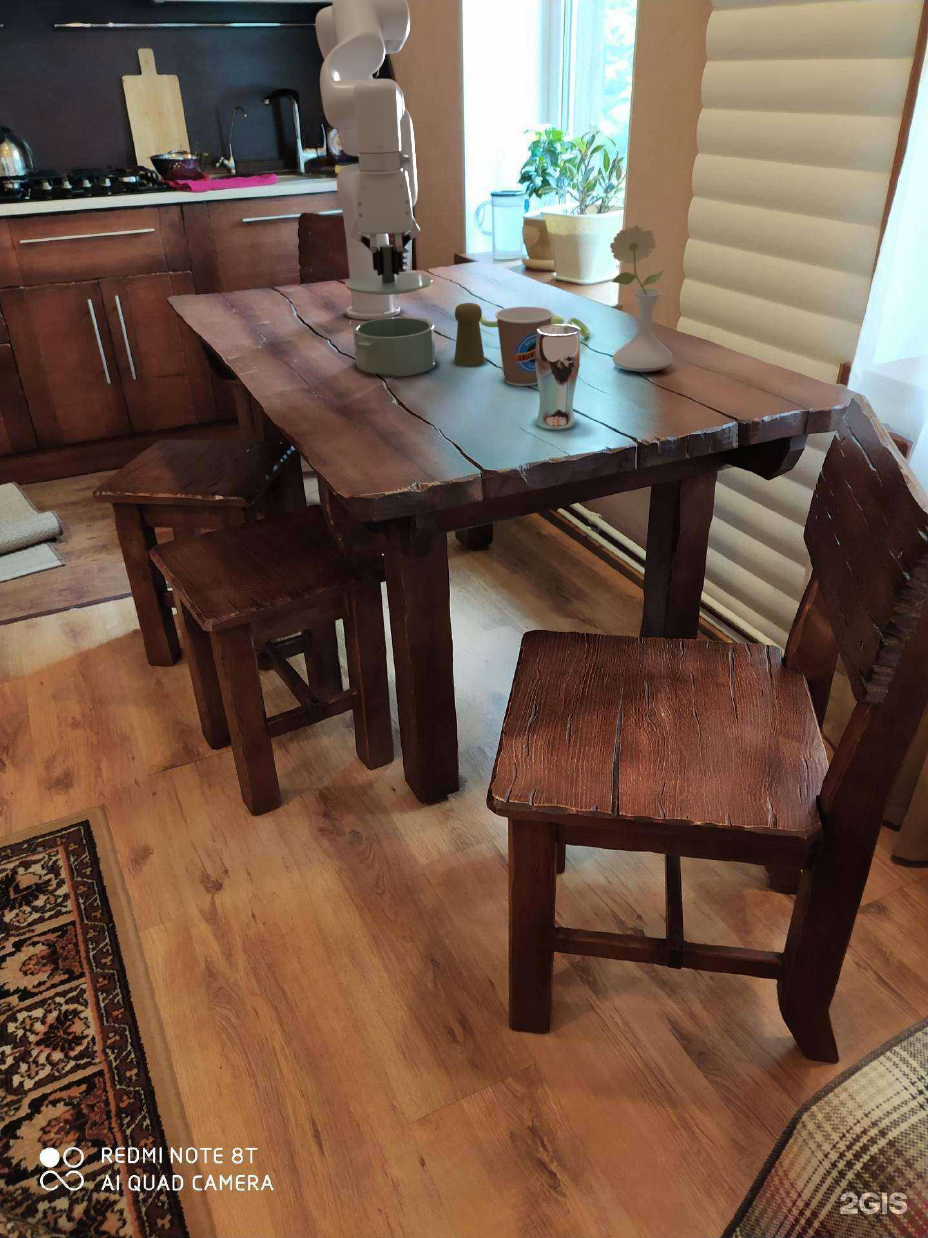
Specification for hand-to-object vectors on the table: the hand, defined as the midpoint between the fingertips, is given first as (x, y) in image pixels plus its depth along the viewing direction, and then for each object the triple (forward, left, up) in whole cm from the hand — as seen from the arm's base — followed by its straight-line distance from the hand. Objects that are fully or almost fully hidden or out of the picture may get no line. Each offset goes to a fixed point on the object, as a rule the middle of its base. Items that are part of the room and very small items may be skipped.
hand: (388, 272), depth 167 cm
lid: (0, 0, -2) cm, 2 cm away
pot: (0, 0, -17) cm, 17 cm away
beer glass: (+16, +42, -17) cm, 48 cm away
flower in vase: (-18, +43, -17) cm, 50 cm away
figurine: (-25, +15, -17) cm, 34 cm away
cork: (-8, +12, -17) cm, 23 cm away
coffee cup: (-2, +27, -17) cm, 32 cm away
